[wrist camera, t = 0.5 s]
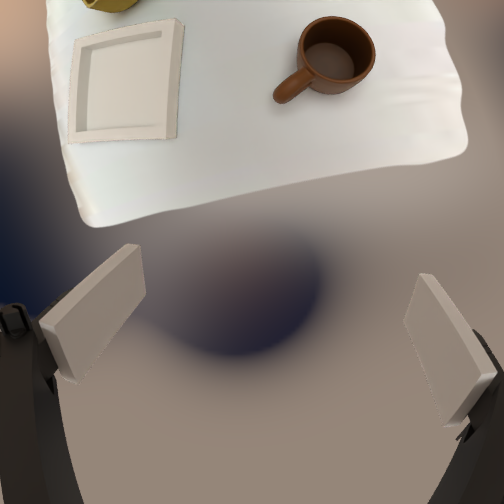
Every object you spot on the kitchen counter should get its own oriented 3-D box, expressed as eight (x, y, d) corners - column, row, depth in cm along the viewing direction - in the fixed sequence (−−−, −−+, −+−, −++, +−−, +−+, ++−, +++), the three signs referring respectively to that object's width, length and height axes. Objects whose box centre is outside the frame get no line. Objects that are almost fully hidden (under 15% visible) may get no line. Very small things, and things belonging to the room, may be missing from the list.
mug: (299, 128, 34) (301, 128, 26) (257, 84, 33) (245, 70, 24) (369, 73, 30) (392, 58, 22) (328, 29, 29) (338, 2, 20)
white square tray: (88, 43, 32) (74, 40, 29) (184, 25, 30) (175, 18, 27) (82, 141, 38) (67, 144, 35) (176, 137, 37) (165, 139, 34)
